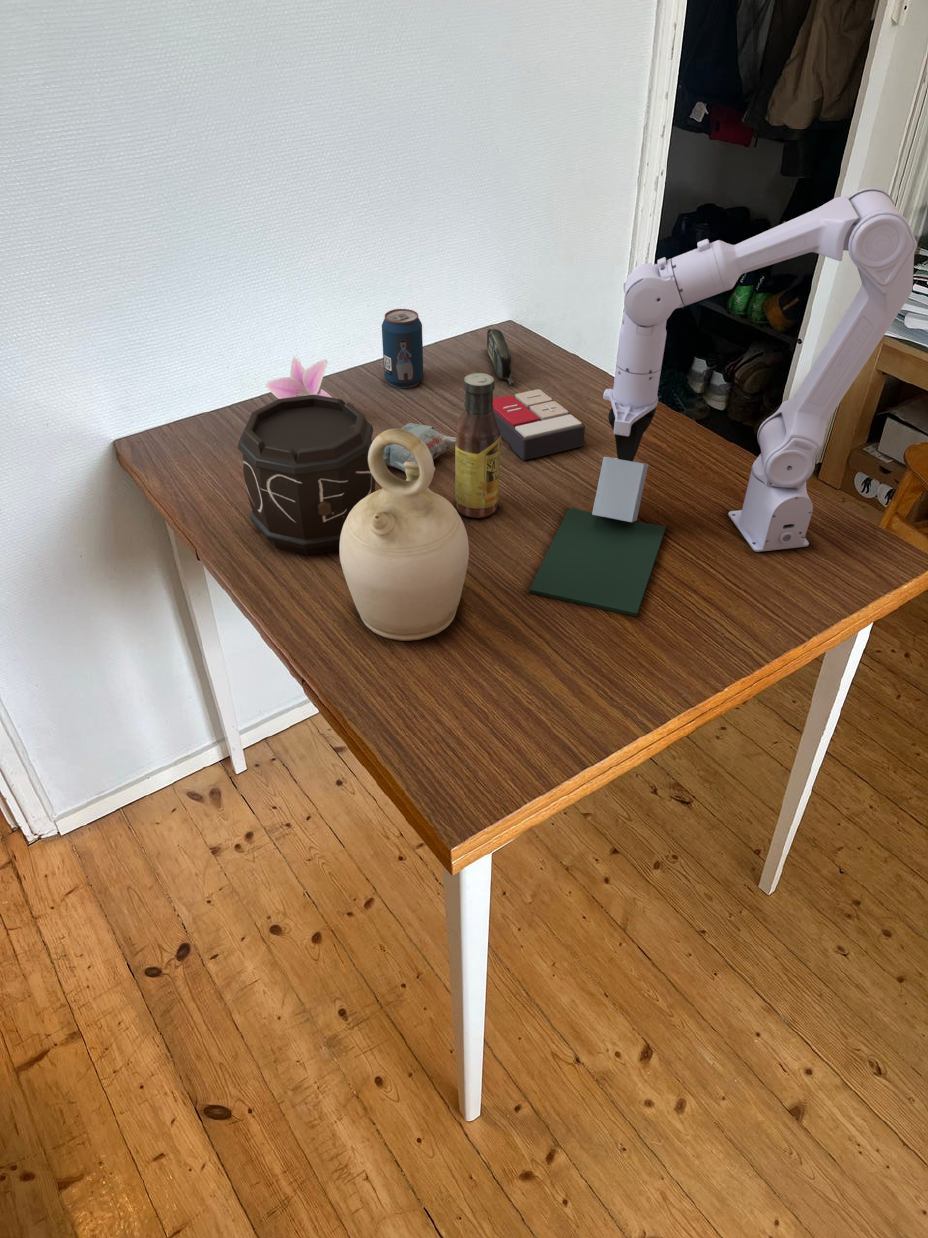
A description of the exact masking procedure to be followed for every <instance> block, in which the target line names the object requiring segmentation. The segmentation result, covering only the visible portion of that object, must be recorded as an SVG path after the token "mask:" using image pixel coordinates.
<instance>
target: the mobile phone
mask: <svg viewBox="0 0 928 1238" xmlns="http://www.w3.org/2000/svg"><path fill="white" fill-rule="evenodd" d="M486 352H487V354H488V357H489V358H490V360H491V362H492V365H493V371H494V373H495V375H496V377H498V378H500V379H502V380H506V381H508V383H509V385H511V386H514V381H513V379H512V375H513V374H512V373H513V357H512V350H511V348H510V344H509V343H508V341H507V340H506V337H505V336H504V334H503V332H502V331H501V330H499V329H496V328H489V329H488V330H487V331H486Z"/></svg>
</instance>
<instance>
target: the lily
mask: <svg viewBox="0 0 928 1238" xmlns="http://www.w3.org/2000/svg"><path fill="white" fill-rule="evenodd" d="M327 366H328V359H322V360H318V361H317V362H315V363H313V364H312V365H310V366H309V367H307V368H306V369H305V368H304V366H303V365H302V363H301V361H300V360H299V358H298V357H297V356H293V358H292V360H291V364H290V371H289V372H290V373H289V374H290V375H289V376H284V377H278V378H275V379H272V380H269V381H268V382H266V384H265V388H266V389H267V390H268V391H269V392H270V393H271V394H272V395H273V396H274V397H276V398H277V400H278V399H282V398H290V397H298V396H306V395H320V396H325V397H331V398H333V396H332V395H330V394H329V393H328V392H327V391H326V390H324V389H322V388H321V385H322V382H323V378H324V375H325V372H326V370H327Z"/></svg>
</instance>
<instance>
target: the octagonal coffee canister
mask: <svg viewBox="0 0 928 1238" xmlns="http://www.w3.org/2000/svg"><path fill="white" fill-rule="evenodd" d="M331 397H332V396H331ZM331 397H325V396H320V395H306V396H298V397H290V398H282V399H278V398H277V399H276V400H274V401H271V402H270V403H267V404H266V405H263V406H262V407H260V408H257V409H256V410H253V411H252V412H251V413H250V416H249V417H248V418H249V419H248V421H246V424H245V426H244V428H243V430H242V433H241V434H240V438H239V440H238V442H237V443H238V444H237V449H238V450H239V451H240V452H241V454H242V468H243V469H242V471H243V477H244V483H245V489H246V495H247V498H248V501H249V505H250V507H251V512H250V515H249V519H250V521H251V523H252V524H253V525H254V526H255V527H256V528H257V530H258V531H259V532H260V533H261V534H262V535H263V536H264V537H265V538H266V539H267V540H268V542H270V543H271V544H272V546H274V548H275V549H279V550H284V551H289V552H291V553H297V554H300V555H301V554H302V555H306V556H309V555H310V556H311V555H317V554H323V553H329V552H336V551H340V536H341V531H342V528H343V525H344V523H345V520H346V518H347V516H348V514H349V513H350V511H351V510H352V509H353V507H354V506H355V505H356V504H357V503H358V502H359V501H360V500H362V499H363V498H365V497H366V496H368V495H370V494H371V493H373V492H375V491H376V480H375V479H374V477H373V475H372V474H371V471H370V468H369V464H368V453H369V449H370V446H371V444H372V442H373V440H372V438H373V435H374V434H373V433H374V427H373V425H372V424H371V423H370V422H369V421H368V420H367V419H366V415H365V414H364V413H363V412H362V411H360V410H359V409H358V408H357V407H355V405H353V404H352V403H351V402H347V403H346V402H345V401H344V400H343V399H342V398H336V397H332V398H331Z"/></svg>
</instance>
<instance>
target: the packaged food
mask: <svg viewBox="0 0 928 1238" xmlns="http://www.w3.org/2000/svg"><path fill="white" fill-rule="evenodd" d="M400 429H404V430H407V431H409V432H412V433H413V434H415V435H416V436H418V437H419V438H420V439H421V440H422V441H423V442H424V443H425V444H426V446H427V447H428V449H429V451H430V453H431V455H432V459H433V461H434V460H435V459H437V458H438V457H439V456H440V455H442V454H444V453H446V452H447V451H449V450H450V449H451V448H452V447H453V446H455V442H456V436H449V435H446V434H443V433H441V432H440V431H437V430H435V428H434V426H431V425H426V424H420V423H413V422H407V423H406V424H405V425H404V426H402V427H401V428H400ZM383 458H384V462H385V465H386V466H388V467H393V468H394V469H397V470H401V471H402V472H404V473H406V470H405V467H404V463H405V462H413V463H417V461H416V459H415V458H414V456H413V455H412V454H411V453H410V452H409V451H408V450H407V449H406V448H404V447H402V446H400V445H397V444H391V445H387V446H386V447H385V449H384V453H383Z"/></svg>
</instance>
